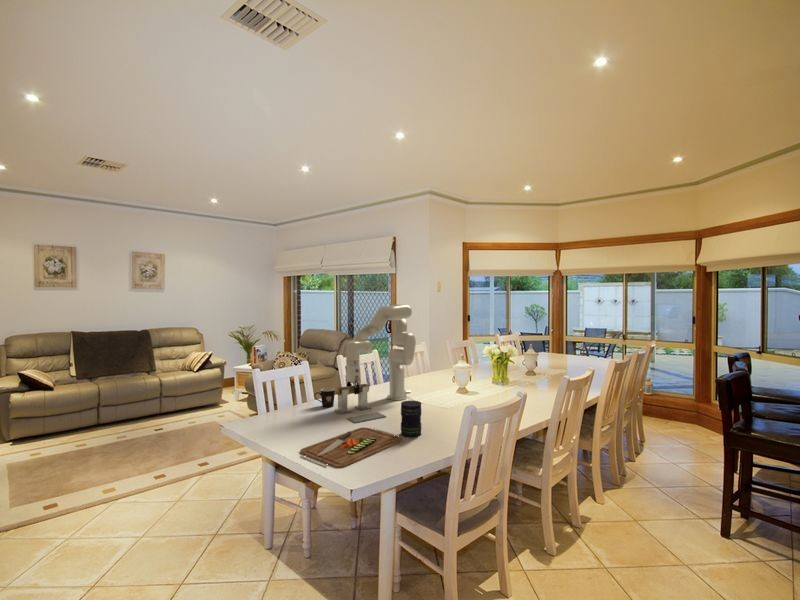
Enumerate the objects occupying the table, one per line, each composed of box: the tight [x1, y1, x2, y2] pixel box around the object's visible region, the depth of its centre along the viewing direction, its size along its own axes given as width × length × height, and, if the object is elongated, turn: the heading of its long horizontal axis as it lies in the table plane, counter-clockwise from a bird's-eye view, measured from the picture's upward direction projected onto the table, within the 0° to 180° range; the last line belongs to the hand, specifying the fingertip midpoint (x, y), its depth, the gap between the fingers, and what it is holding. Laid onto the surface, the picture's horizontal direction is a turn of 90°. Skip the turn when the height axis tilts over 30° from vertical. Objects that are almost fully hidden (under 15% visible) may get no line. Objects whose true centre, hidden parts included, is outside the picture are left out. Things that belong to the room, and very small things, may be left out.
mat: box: [346, 411, 387, 424], centre depth 221 cm, size 19×9×1 cm, turn 124°
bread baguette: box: [335, 383, 370, 396], centre depth 236 cm, size 20×4×4 cm, turn 124°
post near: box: [334, 389, 352, 415], centre depth 232 cm, size 7×7×13 cm
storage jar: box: [400, 400, 422, 439], centre depth 195 cm, size 10×10×15 cm
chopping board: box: [299, 427, 404, 469], centre depth 180 cm, size 45×27×3 cm, turn 141°
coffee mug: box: [313, 387, 336, 409], centre depth 244 cm, size 12×9×10 cm
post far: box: [354, 385, 372, 411], centre depth 240 cm, size 7×7×13 cm
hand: (352, 392), depth 236 cm, fingers open, 9 cm apart
